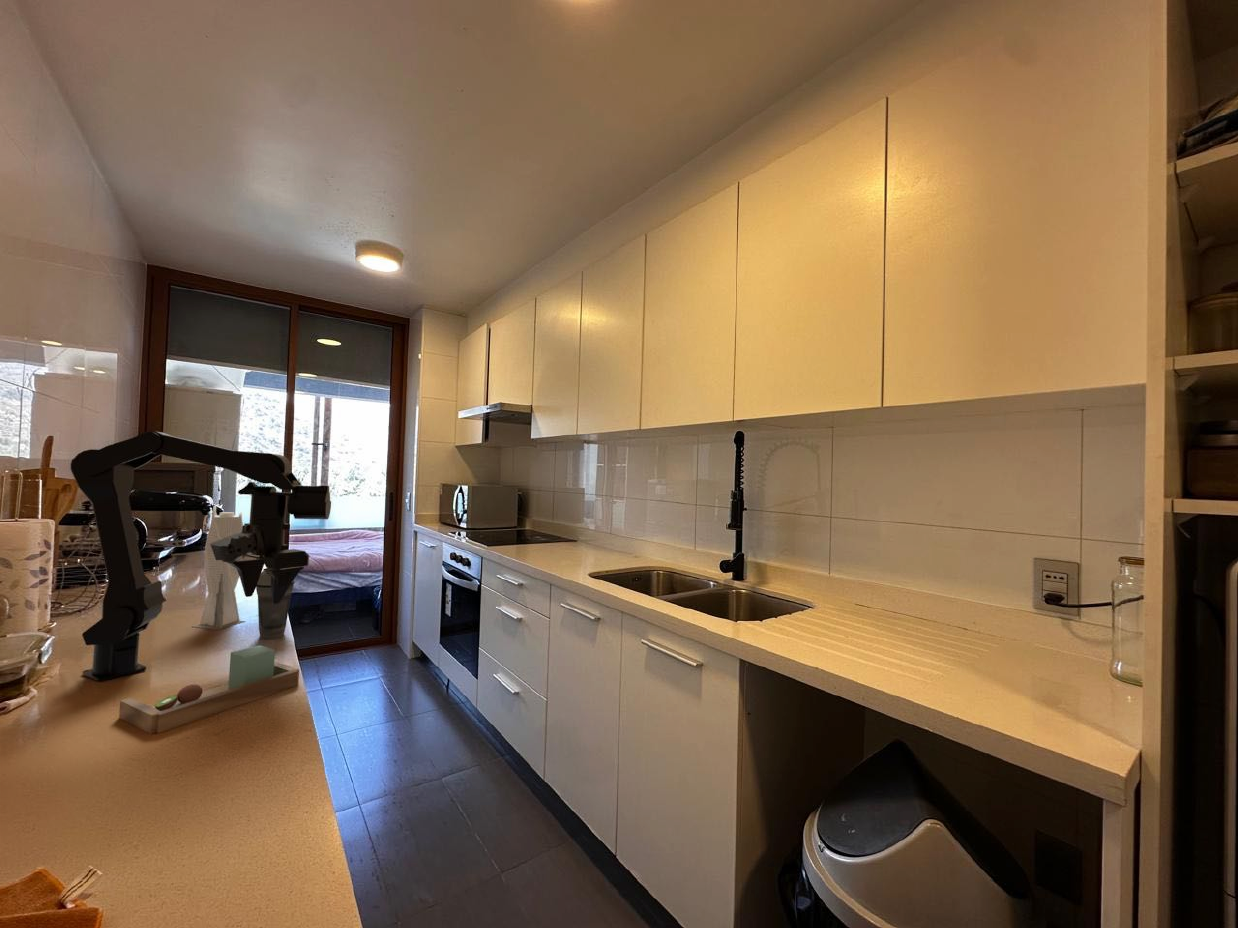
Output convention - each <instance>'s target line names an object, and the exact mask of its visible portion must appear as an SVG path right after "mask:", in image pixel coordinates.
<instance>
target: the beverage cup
mask: <svg viewBox="0 0 1238 928" xmlns="http://www.w3.org/2000/svg"><path fill="white" fill-rule="evenodd" d="M295 583H296V582H295V579H294V580H293V582H292V583H291V585H290V586H289V588H288V590H287V591H286V593H285V595H284V596H283V598H282V600H281V601H280V603H278V604H273V603H272V595H271V577H270V576H269V575H268V574H267V573H266V572H265V571H264V570H263V569H262V572H261V575H260V577H259V580H258V583H257V586H256V588H255V590H256V594H257V610H258V611H257V612H258V632H259V633H258V634H259V638H260V640H261V639H262V640H272V639H273V640H274V639H278V638H282V637H284V636H285V631H286V627H287V620H288V615H289V609H290V602H291V596H292V592H293V591H294V590H293V589H294V587H295V586H294V584H295Z"/></svg>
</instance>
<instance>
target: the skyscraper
mask: <svg viewBox="0 0 1238 928" xmlns="http://www.w3.org/2000/svg"><path fill="white" fill-rule="evenodd" d="M211 513H212V514H211V522H210V525H209V529H208V532H207V537H206V542H205V547H204V548H205V549H204V559H203V561H204V576H205V582H206V588H207V591H208V592H207V593H208V594H207V598H206V601H205V605H204V608H203V611H202V615H201V619H200V623H199V624H197V625H196V624H195V625H192V626H191V628H197V629H205V630H215V631H216V630H217V631H219V630H223V629H225V628H229V627H232V626H236V625H239V624H243V623H245V622H246V621H245V620H240V614H239V609H238V603H237V597H236V591H235V590H236V587H237V584H238V582H239V579H240V576H239V574H238V571H237V569H236V568H235V567H233V566H232V565H230V564H229V563H227V562H223V561H222V560H216V559H215V556H214V554H213V551H212V548H211V545H210V544H211V543H213V542H215V541H218V540H221V539H223V538H226V537H229V536H231V535H234V534H238V533H241V532H242V527H243V525H244V524H243V513H242V512H239V515H238V514H237V515H235V512H234V511H233V512H232V511H231V512H229V511H228V512H227V511H224V512H219V515H217V514H216V513H217V505H214V506H213V507H212V512H211Z"/></svg>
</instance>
